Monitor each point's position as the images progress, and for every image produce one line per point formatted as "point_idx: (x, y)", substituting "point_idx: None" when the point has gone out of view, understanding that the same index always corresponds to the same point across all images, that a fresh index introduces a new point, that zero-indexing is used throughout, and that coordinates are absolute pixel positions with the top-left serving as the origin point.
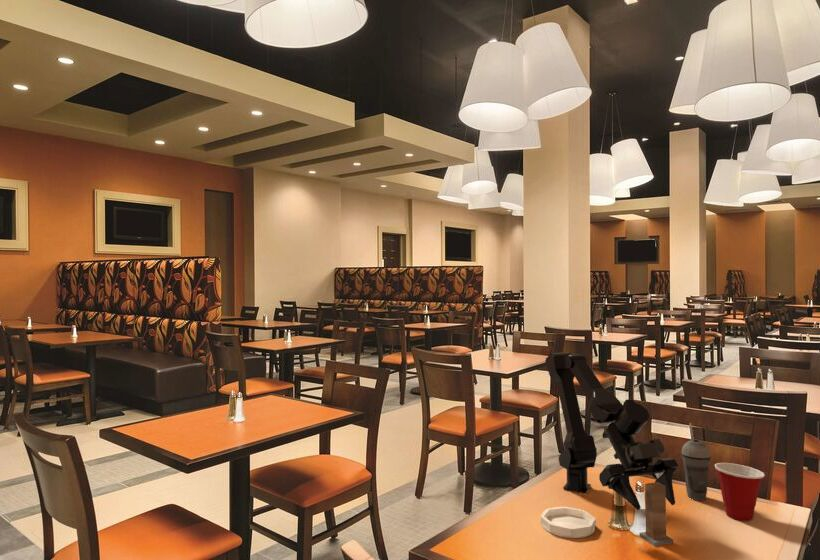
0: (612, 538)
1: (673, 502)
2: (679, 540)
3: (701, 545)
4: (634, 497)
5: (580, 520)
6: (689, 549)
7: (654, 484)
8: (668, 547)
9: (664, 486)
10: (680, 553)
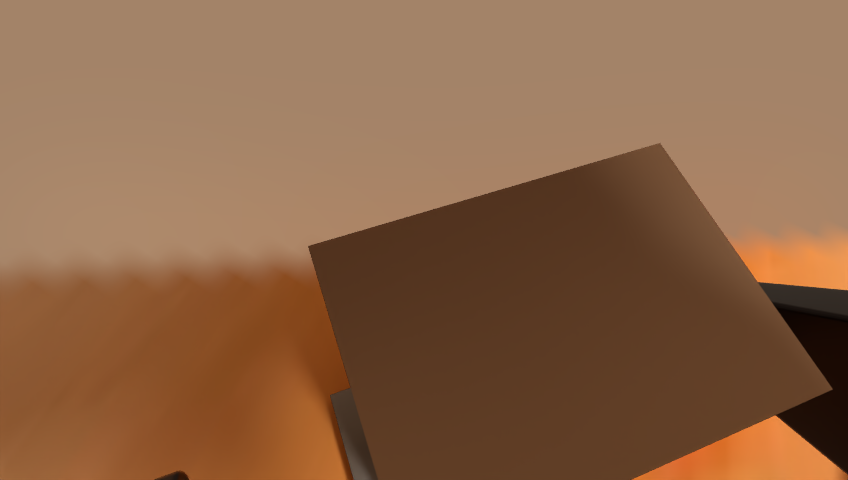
0: (751, 451)
1: (183, 474)
2: (264, 448)
3: (146, 373)
4: (845, 302)
5: None
6: (266, 311)
7: (572, 342)
8: None
9: (342, 238)
10: None
